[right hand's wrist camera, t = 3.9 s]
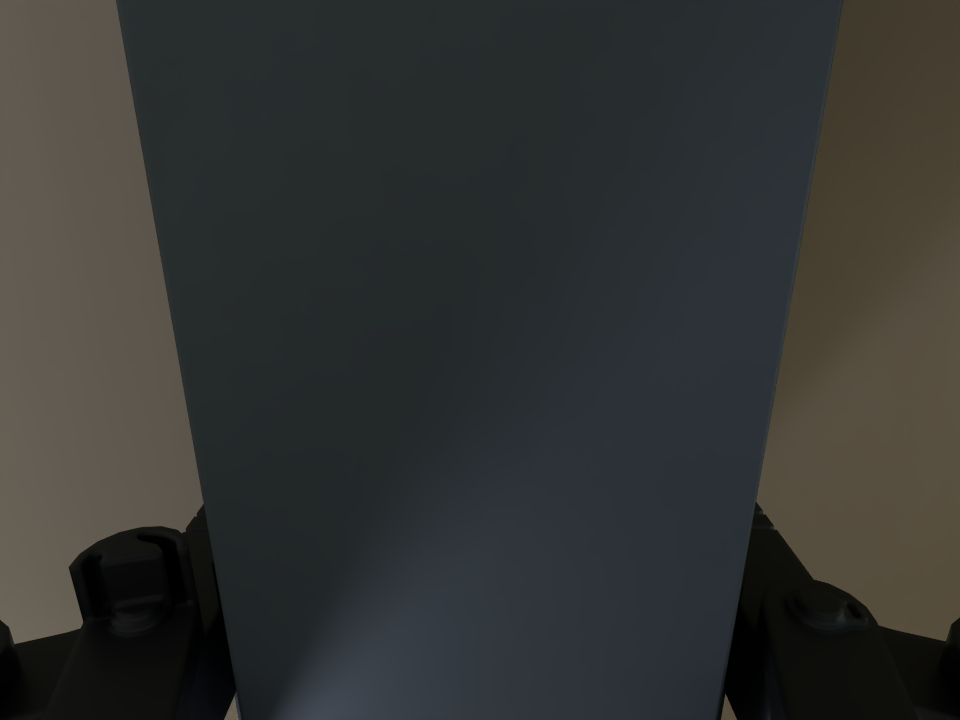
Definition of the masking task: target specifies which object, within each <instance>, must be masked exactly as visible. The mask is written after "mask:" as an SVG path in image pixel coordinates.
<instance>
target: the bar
mask: <svg viewBox="0 0 960 720" xmlns="http://www.w3.org/2000/svg"><path fill="white" fill-rule="evenodd" d="M116 3H117V9H118V14H119V20H120V26H121V31H122V37H123V43H124V49H125V54H126V60H127V66H128V72H129V77H130V83H131V89H132V95H133V100H134V106H135V112H136V118H137V123H138V129H139V135H140V140H141V146H142V152H143V158H144V163H145V169H146V175H147V181H148V186H149V192H150V198H151V204H152V209H153V215H154V221H155V226H156V232H157V238H158V244H159V249H160V255H161V261H162V267H163V272H164V278H165V284H166V290H167V295H168V301H169V307H170V312H171V318H172V324H173V330H174V335H175V341H176V347H177V353H178V358H179V364H180V370H181V376H182V381H183V387H184V393H185V398H186V404H187V410H188V416H189V421H190V427H191V433H192V439H193V444H194V450H195V456H196V462H197V467H198V473H199V479H200V484H201V490H202V496H203V502H204V507H205V513H206V519H207V525H208V530H209V536H210V542H211V548H212V553H213V559H214V565H215V571H216V576H217V582H218V588H219V593H220V599H221V605H222V611H223V616H224V622H225V628H226V634H227V639H228V645H229V651H230V657H231V662H232V668H233V674H234V679H235V685H236V691H237V697H238V702H239V708H240V714H241V720H718V716H719V711H720V705H721V699H722V693H723V688H724V682H725V676H726V670H727V665H728V659H729V653H730V647H731V642H732V636H733V630H734V624H735V619H736V613H737V607H738V601H739V596H740V590H741V584H742V578H743V573H744V567H745V561H746V555H747V550H748V544H749V538H750V532H751V526H752V521H753V515H754V509H755V503H756V498H757V492H758V486H759V480H760V475H761V469H762V463H763V457H764V452H765V446H766V440H767V434H768V429H769V423H770V417H771V411H772V406H773V400H774V394H775V388H776V383H777V377H778V371H779V365H780V360H781V354H782V348H783V342H784V337H785V331H786V325H787V319H788V314H789V308H790V302H791V296H792V291H793V285H794V279H795V273H796V268H797V262H798V256H799V250H800V245H801V239H802V233H803V227H804V222H805V216H806V210H807V204H808V199H809V193H810V187H811V181H812V176H813V170H814V164H815V158H816V153H817V147H818V141H819V135H820V130H821V124H822V118H823V112H824V107H825V101H826V95H827V89H828V84H829V78H830V72H831V66H832V61H833V55H834V49H835V43H836V37H837V32H838V26H839V20H840V14H841V9H842V3H843V0H116Z"/></svg>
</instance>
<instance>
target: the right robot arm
mask: <svg viewBox="0 0 960 720" xmlns="http://www.w3.org/2000/svg"><path fill="white" fill-rule="evenodd" d="M69 570H70V574H71V578H72V581H73V585H74V589H75V592H76V596H77V600H78V604H79V607H80V611H81V615H82V618H83V625H82V627H81V629H77V630H74V631H70V632H67V633H63V634H58V635H54V636H49V637H45V638H40V639H36V640H31V641H27V642H22V643H18V644H14V642H13V639H12V635H11V632H10V629H9V627H8V626H7V625H6V624H4V623H3V622H2V621H1V620H0V720H224V718H225V716H226V714H227V711H228V709H229V707H230V705H231V702H232V700H233V698H234V695H235V700H236V706H237V712H238V717H239V720H241V714H240V708H239V702H238V697H237V691H236V685H235V679H234V674H233V668H232V662H231V657H230V651H229V645H228V639H227V634H226V628H225V622H224V616H223V611H222V605H221V599H220V593H219V588H218V582H217V576H216V571H215V565H214V559H213V553H212V548H211V542H210V536H209V530H208V525H207V519H206V513H205V507H204V504H203V506H202V507H201V508H200V510H199V511H198V513H197V517H194V518H193V519H192V521H191V522H190V523H189V525H188V526H187V528H186V532H183V533H180V532H179V531H178V530H175V529H171V528H167V527H163V526H157V527H140V528H136V529H131V530H127V531H123V532H119V533H117V534H114V535H112V536H110V537H107V538H105V539H103V540H100V541H98V542H96V543H95V544H93V545H92V546H91V547H89V548H88V549H86V550H85V551H83V552H82V553H80V554H79V555H78V557H77V558H76V559H75V560H74V561H73V563H72V564H71V565H70V566H69ZM725 693H726V695H727V698H728V700H729V702H730V705H731V707H732V709H733V711H734V714H735V716H736V718H737V720H960V618H959V619H957V620H956V621H955V622H954V623H953V624H951V628H950V631H949V634H948V637H947V640H946V641H941V640H937V639H932V638H928V637H923V636H919V635H914V634H910V633H905V632H901V631H896V630H892V629H889V628H885V627H882V626H878V624H877V621H876V620H875V619H874V617H873V616H872V614H871V613H870V612H869V610H868V609H867V607H866V606H864V605H863V604H862V603H861V602H859V601H858V600H857V599H856V598H854V597H853V596H852V595H850V594H849V593H847V592H845V591H843V590H841V589H839V588H837V587H835V586H833V585H831V584H828V583H825V582H821V581H817V580H814V579H813V578H812V577H811V575H810V574H809V573H808V571H807V570H806V569H805V567H804V566H803V565H802V563H801V562H800V561H799V559H798V558H797V556H796V555H795V554H794V552H793V551H792V550H791V548H790V547H789V546H788V544H787V543H786V542H785V540H784V539H783V538H782V536H781V535H780V533H779V532H778V531H777V530H774V525H773V524H772V523H771V521H770V520H769V519H768V517H767V516H766V515H763V510H762V509H761V508H760V506H759V505H758V504H757V502H756V503H755V509H754V515H753V521H752V526H751V532H750V538H749V544H748V550H747V555H746V561H745V567H744V573H743V578H742V584H741V590H740V596H739V601H738V607H737V613H736V619H735V624H734V630H733V636H732V642H731V647H730V653H729V659H728V665H727V670H726V676H725V682H724V688H723V693H722V699H721V705H720V711H719V716H718V720H721V715H722V709H723V704H724V698H725Z"/></svg>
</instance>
